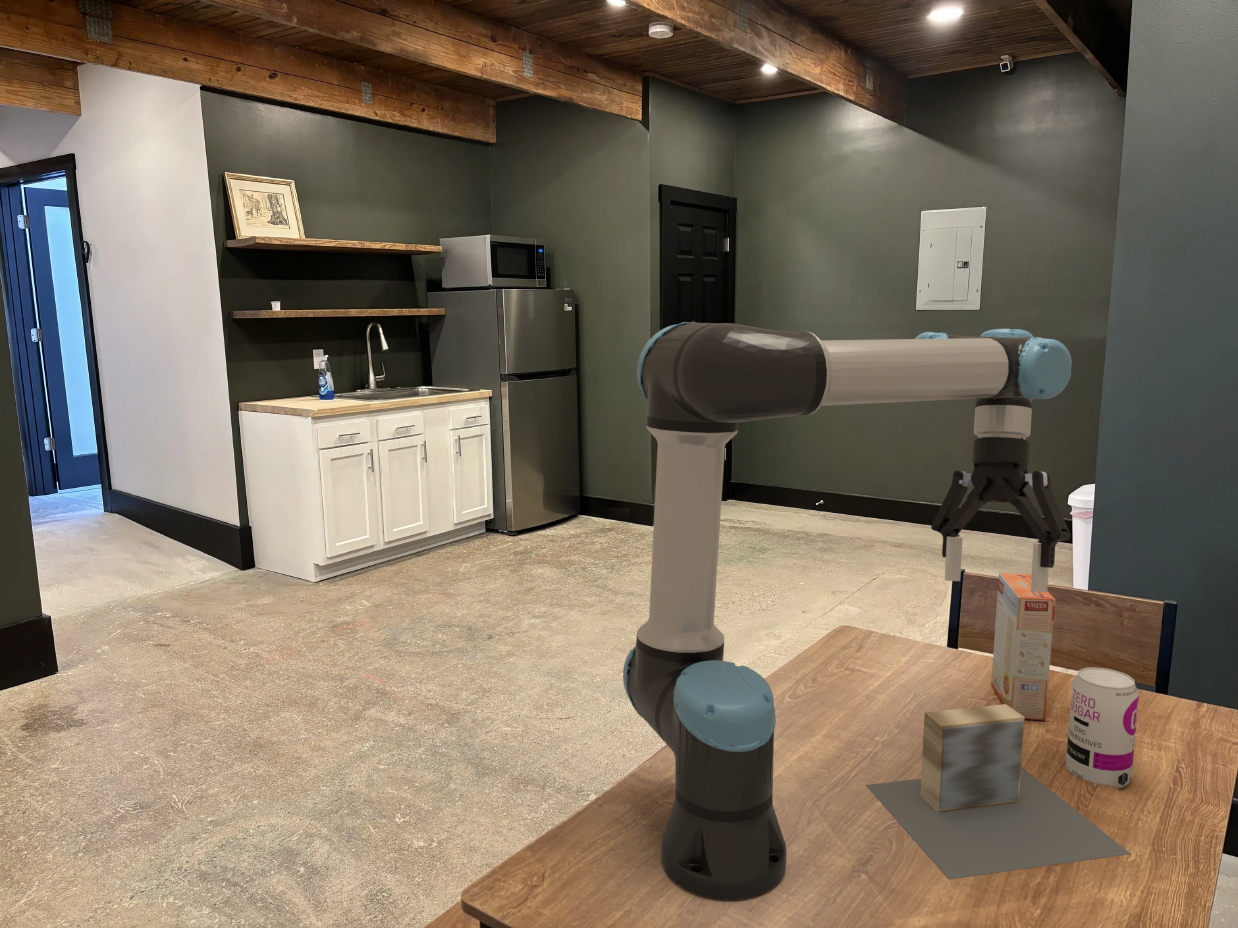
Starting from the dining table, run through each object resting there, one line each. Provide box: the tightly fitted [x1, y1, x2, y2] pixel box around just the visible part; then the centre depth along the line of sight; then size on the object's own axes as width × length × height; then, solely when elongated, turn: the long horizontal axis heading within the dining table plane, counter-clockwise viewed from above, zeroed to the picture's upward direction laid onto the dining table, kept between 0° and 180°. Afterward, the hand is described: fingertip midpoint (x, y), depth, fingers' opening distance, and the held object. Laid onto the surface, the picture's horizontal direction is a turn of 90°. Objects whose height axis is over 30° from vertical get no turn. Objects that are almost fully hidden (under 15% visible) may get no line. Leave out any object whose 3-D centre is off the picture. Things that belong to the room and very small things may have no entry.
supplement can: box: [1065, 666, 1140, 790], centre depth 124 cm, size 8×8×15 cm
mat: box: [865, 766, 1132, 880], centre depth 114 cm, size 24×21×1 cm
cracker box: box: [990, 572, 1056, 721], centre depth 147 cm, size 14×6×21 cm, turn 168°
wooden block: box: [920, 704, 1025, 812], centre depth 117 cm, size 12×4×12 cm, turn 101°
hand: (993, 586), depth 125 cm, fingers open, 13 cm apart
